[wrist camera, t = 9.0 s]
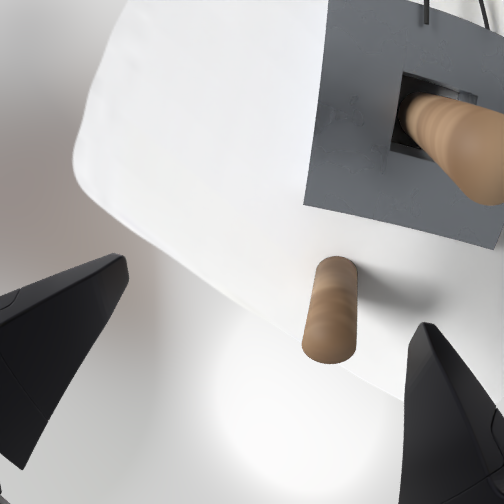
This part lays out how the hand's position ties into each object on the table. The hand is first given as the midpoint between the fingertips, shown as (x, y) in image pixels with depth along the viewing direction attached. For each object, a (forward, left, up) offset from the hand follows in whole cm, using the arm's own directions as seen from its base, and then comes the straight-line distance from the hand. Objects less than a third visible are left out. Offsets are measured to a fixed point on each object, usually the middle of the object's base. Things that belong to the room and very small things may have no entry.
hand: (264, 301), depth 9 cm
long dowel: (-6, -5, -12) cm, 15 cm away
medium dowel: (-3, +7, -12) cm, 15 cm away
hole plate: (-6, -5, -12) cm, 15 cm away
